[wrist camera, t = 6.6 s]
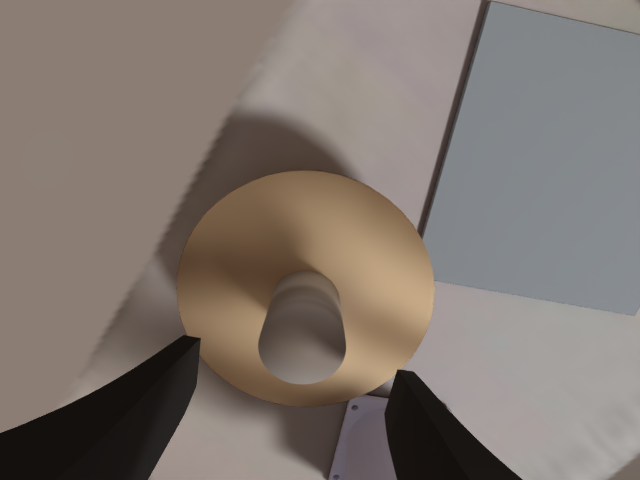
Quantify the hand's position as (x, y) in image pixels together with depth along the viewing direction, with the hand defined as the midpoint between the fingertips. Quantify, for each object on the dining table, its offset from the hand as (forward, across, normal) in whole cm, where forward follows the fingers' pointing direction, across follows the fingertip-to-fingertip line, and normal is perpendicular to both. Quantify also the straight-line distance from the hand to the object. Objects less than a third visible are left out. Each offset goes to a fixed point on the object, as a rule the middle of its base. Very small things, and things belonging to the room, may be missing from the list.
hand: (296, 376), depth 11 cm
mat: (+10, -15, -9) cm, 20 cm away
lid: (+7, 0, 0) cm, 7 cm away
